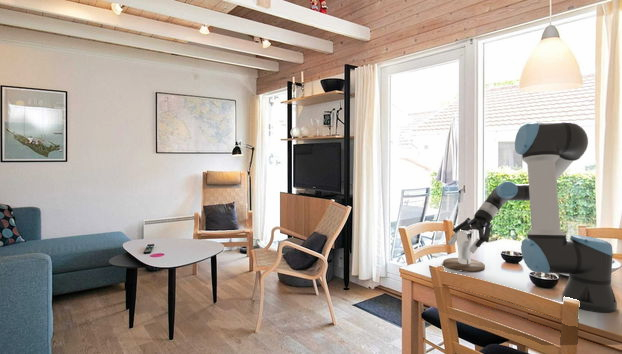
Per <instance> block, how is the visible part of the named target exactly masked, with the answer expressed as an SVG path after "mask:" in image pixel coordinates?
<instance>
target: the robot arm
mask: <svg viewBox="0 0 622 354" xmlns="http://www.w3.org/2000/svg"><path fill="white" fill-rule="evenodd" d="M588 145H589V138H588V134H587V133H586V130H584V128H583V127H582V126H580V125H579V124H577V123H574V122H572V121H535V122H526V123H523V124H522V125H521V126H520V127H519V128H518V130H517V132H516V135H515V141H514V150H515V153H516V154H518V155H521V158H522V161H523V162H524V163H526V165H527V177H528V180H527V181H528V183H515V182H513V181H509V180H506V181H503V182H502V183H500V184H499V185H497V186H495V187H494V188H493V189H492V191H491V193H490V194H489V195H488V196H487V198H486V199H485V201H484V202H483V203H482V204H481V206H480V207H478V210H476V212H475V213H474V215H473V218H472V219H471V218H470V217H467V218H466V219H465V220H464V221H463V222H461V223H460V224H459V225H457V226H455V227H454V228H453V229H452V231H453V234H452V235H451V238H450V239H449V240H448V241H447V244H448V245H449V246H450V247H453V246H454V244H455V243H457V231H459V230H466V231H472V230H476V231H478V237H477V238H476V239H475V241H473V245H472V246H471V247H470V249H469V250H470V251H471V254H475V253H476V251H477V250H478V249H479V248H480V247H481V245H483V243H489V241H490V240H489V239H490V235H491V229H492V228H493V224H492V221H493V218H495V217H496V216H497V214H498V212H499V211H500V210H501V209H502V207H503V206H504V205H505V204H506V203H508V202H509V201H517V202H518V201H529V207H530V208H529V209H530V211H529V212H530V223H531V229H530V230H529V231H528V232H527V234H526V235H527V236H526V238H524V239H523V240H522V242H521V246H520V250H521V251H520V252H521V255H522V259H523V261H524V264H525V266H526V267H527V268H528V269H529V270H530V271H532V272H534V273H538V274H539V273H543V274H546V275H547V274H563V275H565V274H566V275H567V274H568V280H567V282H566V284H565V287H564V289H563V291H562V294H561V295H562V296H561V297H562V298H561V299H562V300H563V297H564V296H565V297H570V298H573V299H577V300H579V301H580V308H579V309H581V310H586V311H591V312H596V313H598V312H599V313H613V312H615V310H616V309H617V307H618V301H617V300H616V297H615V296H616V295H615V293H614V290H613V287H612V275H613V273H612V271H613V257H614V254H613V252H614V250H613V245H612V243H610V242H609V241H607V240H604V239H600V238H596V237H593V236H587V235H581V234H571V235H570V237H569V239H567V234H566V233H565V232H564V231H562V229H561V221H560V219H561V218H560V208H559V196H558V183H557V182H558V179H559V178H560V177H561V176H562V175H563V174H564V173H565V171H566V170H567V169H568V168H569V167H570V165H571V164H572V163H573V162H575V161H578V160H579V159H580V158H582V156H583V155H584V154H585V152H586V151H587V149H588ZM616 311H617V310H616Z"/></svg>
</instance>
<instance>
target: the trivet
mask: <svg viewBox="0 0 622 354" xmlns="http://www.w3.org/2000/svg"><path fill="white" fill-rule="evenodd" d="M457 261H458V257H451V258H450V257H449V258H445V259H444V260H443V261H442V265H443V266H444V267H445V268H448V269H449V270H453V269H454V271H457V270H462V271H461V272H464V271H470V272H469V273H476V272H477V271H478V272H482V271H485V269H486V265H485V263H483V262H482V261H480V260H476V259H471V265H461V264H458V263H457ZM471 271H472V272H471Z"/></svg>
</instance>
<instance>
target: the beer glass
mask: <svg viewBox="0 0 622 354" xmlns="http://www.w3.org/2000/svg"><path fill="white" fill-rule="evenodd" d="M473 232H474V231H472V230H468V231H466V230H459V231H457V241H456V246H457V248H456V249H457V251H458V252H457V254H458V256H457V258H458V261H457V263H458V264H461V265H471V258H472V257H471V256H472V252H471V251H470V250H469V249H470V247H471V246H472V245H473V243H474V235H473Z"/></svg>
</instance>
